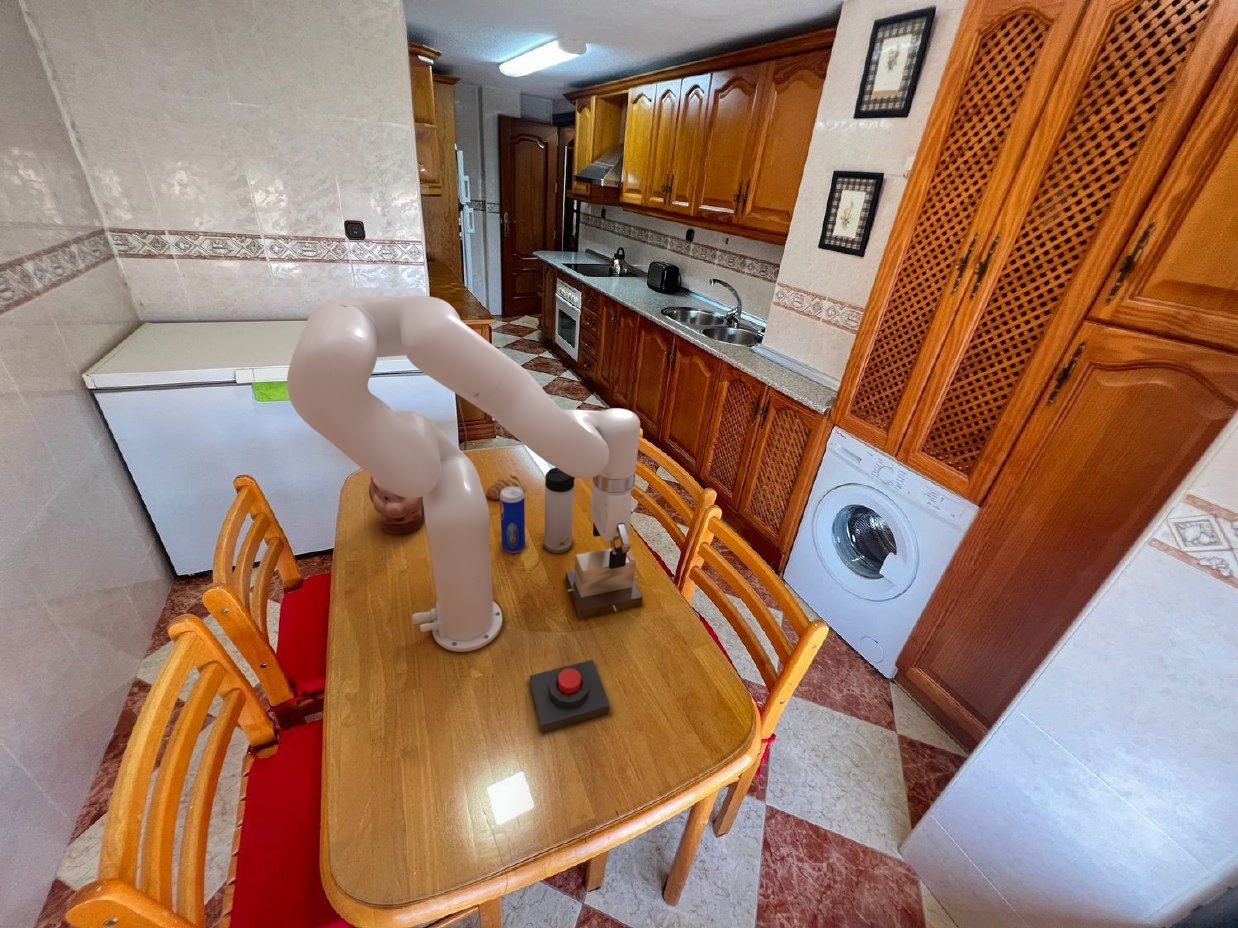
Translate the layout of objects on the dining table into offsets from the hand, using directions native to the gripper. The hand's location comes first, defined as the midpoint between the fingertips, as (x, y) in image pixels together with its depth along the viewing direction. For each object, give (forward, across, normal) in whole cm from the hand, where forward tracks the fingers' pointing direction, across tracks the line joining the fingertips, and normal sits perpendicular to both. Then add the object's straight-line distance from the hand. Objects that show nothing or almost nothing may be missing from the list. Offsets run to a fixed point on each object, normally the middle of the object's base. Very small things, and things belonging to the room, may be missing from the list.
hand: (608, 550), depth 97 cm
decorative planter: (+11, -36, -39) cm, 54 cm away
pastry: (+11, -41, -14) cm, 45 cm away
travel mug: (+12, -17, -6) cm, 21 cm away
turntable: (+11, 0, -1) cm, 11 cm away
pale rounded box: (+9, 0, -1) cm, 9 cm away
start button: (+8, +21, -14) cm, 26 cm away
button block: (+11, +21, -14) cm, 27 cm away
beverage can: (+11, -19, -16) cm, 27 cm away
